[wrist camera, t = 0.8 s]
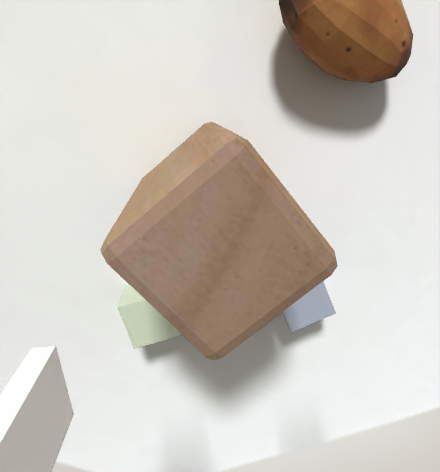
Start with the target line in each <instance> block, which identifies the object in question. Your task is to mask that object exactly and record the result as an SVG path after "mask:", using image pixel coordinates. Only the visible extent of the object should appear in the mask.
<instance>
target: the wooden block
mask: <svg viewBox="0 0 440 472" xmlns="http://www.w3.org/2000/svg"><path fill="white" fill-rule="evenodd" d="M101 252H102V255H103V257H104V258H105V260H106V262H107V264H108V265H109V266H111V267H112V268H113V269H114V270H115V271H116V272H117V273H118V274H119V275H120V276H121V277H122V278H123V279H124V280H125V281H126V282H127V283H128V284H130V285H131V286H132V287H133V288H134V289H135V290H136V291H137V292H138V293H139V294H140V295H141V296H142V297H143V298H144V299H145V300H146V301H147V302H148V303H150V304H151V305H152V306H153V307H154V308H155V309H156V310H157V311H158V312H159V313H160V314H161V315H162V316H163V317H164V318H165V319H166V320H167V321H168V322H170V323H171V324H172V325H173V326H174V327H175V328H176V329H177V330H178V331H179V332H180V333H181V334H182V335H183V336H184V337H185V338H186V339H187V340H189V341H190V342H191V343H192V344H193V345H194V346H195V347H196V348H197V349H198V350H199V351H200V352H201V353H202V354H203V355H204V356H205V357H207V358H210V359H212V360H216V359H219V358H222V357H223V356H225V355H226V354H227V353H229V352H230V351H231V350H233V349H234V348H235V347H237V346H238V345H239V344H241V343H242V342H243V341H245V340H246V339H247V338H249V337H250V336H251V335H253V334H254V333H255V332H257V331H258V330H259V329H260V328H262V327H263V326H264V325H266V324H267V323H268V322H270V321H271V320H272V319H274V318H275V317H276V316H278V315H279V314H280V313H282V312H283V311H284V310H286V309H287V308H288V307H290V306H291V305H292V304H293V303H295V302H296V301H297V300H299V299H300V298H301V297H303V296H304V295H305V294H307V293H308V292H309V291H311V290H312V289H313V288H315V287H316V286H317V285H319V284H320V283H321V282H323V281H324V280H325V279H326V278H328V277H329V276H330V275H332V273H333V272H334V270H335V269H336V267H337V262H336V257H335V252H334V250H333V249H332V247H331V246H330V245H329V243H328V242H327V241H326V240H325V238H324V237H323V236H322V235H321V233H320V232H319V231H318V229H317V228H316V227H315V226H314V224H313V223H312V222H311V220H310V219H309V218H308V217H307V215H306V214H305V213H304V211H303V210H302V209H301V208H300V206H299V205H298V204H297V203H296V201H295V200H294V199H293V197H292V196H291V195H290V194H289V192H288V191H287V190H286V188H285V187H284V186H283V185H282V183H281V182H280V181H279V180H278V178H277V177H276V176H275V174H274V173H273V172H272V171H271V169H270V168H269V167H268V165H267V164H266V163H265V162H264V160H263V159H262V158H261V156H260V155H259V154H258V153H257V151H256V150H255V149H254V148H253V146H252V145H251V144H250V142H249V141H248V140H246V139H244V138H242V137H240V136H239V135H237V134H235V133H233V132H231V131H229V130H227V129H225V128H223V127H221V126H219V125H217V124H215V123H213V122H210V123H207V124H204V125H203V126H202V127H201V128H199V129H198V130H197V131H196V132H195V133H194V134H193V135H191V136H190V137H189V138H188V139H187V140H186V141H185V142H184V143H182V144H181V145H180V146H179V147H178V148H177V149H176V150H174V151H173V152H172V153H171V154H170V155H169V156H168V157H166V158H165V159H164V160H163V161H162V162H161V163H160V164H158V165H157V166H156V167H155V168H154V169H153V170H152V171H151V172H149V173H148V174H147V175H146V176H145V177H144V178H143V179H142V180H141V182H140V183H139V185H138V187H137V188H136V190H135V192H134V193H133V195H132V196H131V198H130V200H129V201H128V203H127V205H126V206H125V208H124V209H123V211H122V213H121V214H120V216H119V217H118V219H117V221H116V222H115V224H114V226H113V227H112V229H111V230H110V232H109V234H108V235H107V237H106V239H105V241H104V243H103V245H102V248H101Z"/></svg>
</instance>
